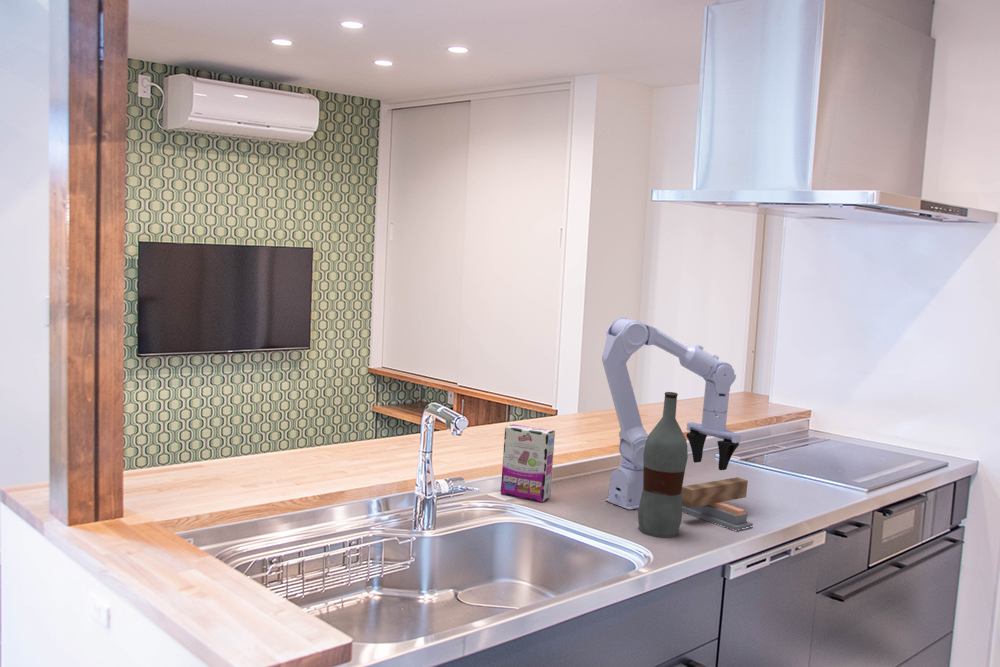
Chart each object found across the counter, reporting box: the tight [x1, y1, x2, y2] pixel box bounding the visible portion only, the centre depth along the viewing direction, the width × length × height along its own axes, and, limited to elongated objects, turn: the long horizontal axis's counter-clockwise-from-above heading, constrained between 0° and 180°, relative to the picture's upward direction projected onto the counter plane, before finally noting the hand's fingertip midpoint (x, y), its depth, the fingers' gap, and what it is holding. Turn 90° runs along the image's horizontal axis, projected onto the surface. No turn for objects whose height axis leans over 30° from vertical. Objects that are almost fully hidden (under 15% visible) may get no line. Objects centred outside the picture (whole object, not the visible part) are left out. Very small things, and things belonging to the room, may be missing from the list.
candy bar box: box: [500, 424, 556, 503], centre depth 194 cm, size 11×5×16 cm, turn 65°
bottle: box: [637, 391, 689, 538], centre depth 175 cm, size 9×9×30 cm
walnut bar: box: [681, 476, 749, 508], centre depth 188 cm, size 20×3×4 cm, turn 127°
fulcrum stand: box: [682, 502, 754, 530], centre depth 189 cm, size 6×18×4 cm, turn 37°
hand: (709, 465), depth 199 cm, fingers open, 7 cm apart
